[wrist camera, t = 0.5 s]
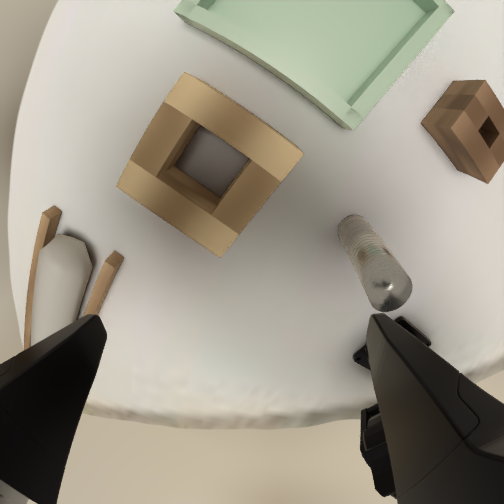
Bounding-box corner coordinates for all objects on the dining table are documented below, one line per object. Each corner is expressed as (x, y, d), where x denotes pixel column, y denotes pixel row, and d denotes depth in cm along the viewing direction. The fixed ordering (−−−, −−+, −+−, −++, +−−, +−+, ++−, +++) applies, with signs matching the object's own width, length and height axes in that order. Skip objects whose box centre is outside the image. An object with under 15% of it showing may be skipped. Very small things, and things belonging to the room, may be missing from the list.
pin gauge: (374, 227, 20) (420, 288, 13) (353, 250, 21) (387, 318, 14) (353, 208, 20) (395, 263, 12) (331, 232, 20) (360, 297, 13)
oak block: (297, 147, 18) (304, 154, 15) (227, 235, 21) (220, 257, 18) (199, 78, 16) (184, 71, 13) (138, 174, 19) (115, 186, 16)
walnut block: (487, 129, 15) (519, 136, 12) (457, 170, 17) (487, 184, 14) (453, 81, 14) (485, 79, 11) (420, 122, 16) (450, 128, 13)
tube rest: (123, 257, 22) (114, 268, 21) (72, 380, 33) (68, 389, 31) (54, 205, 21) (42, 212, 19) (29, 348, 31) (24, 356, 29)
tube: (30, 230, 18) (23, 370, 27) (62, 276, 17) (46, 399, 27) (76, 217, 22) (48, 354, 32) (110, 256, 22) (70, 381, 32)
